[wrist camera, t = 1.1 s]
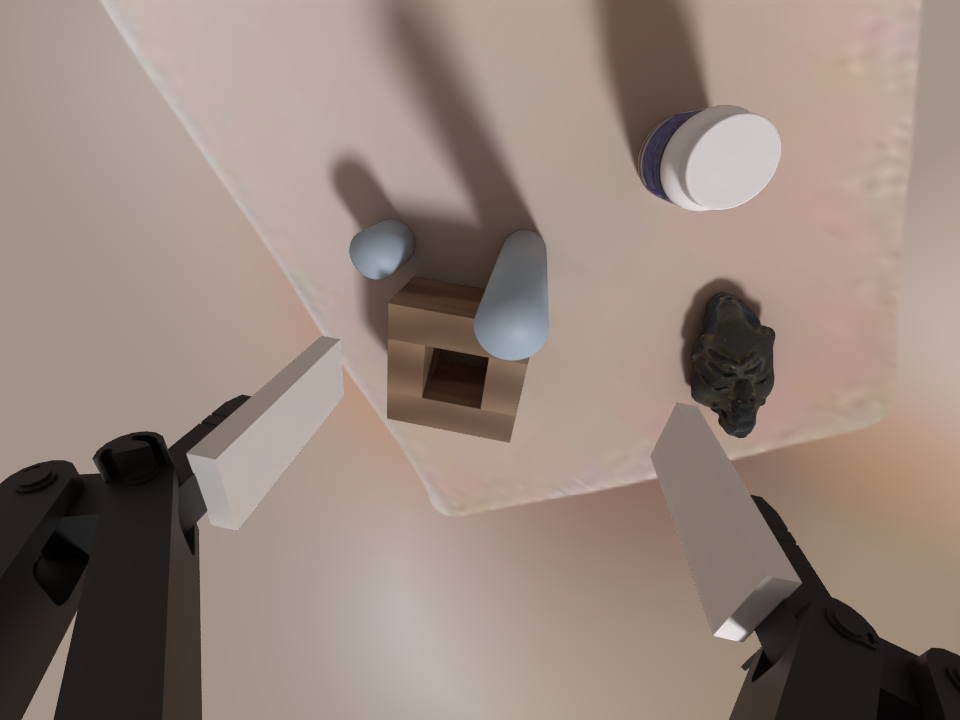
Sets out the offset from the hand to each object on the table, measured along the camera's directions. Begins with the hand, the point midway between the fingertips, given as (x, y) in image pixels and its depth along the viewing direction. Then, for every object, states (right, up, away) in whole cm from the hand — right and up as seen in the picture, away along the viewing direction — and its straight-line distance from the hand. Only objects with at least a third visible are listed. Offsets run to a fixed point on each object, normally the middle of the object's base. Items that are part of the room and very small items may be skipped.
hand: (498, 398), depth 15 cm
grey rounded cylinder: (-9, +12, +20) cm, 25 cm away
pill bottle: (+14, +17, +14) cm, 26 cm away
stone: (+22, +2, +21) cm, 31 cm away
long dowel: (+3, +11, +19) cm, 22 cm away
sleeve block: (-2, +3, +24) cm, 25 cm away
